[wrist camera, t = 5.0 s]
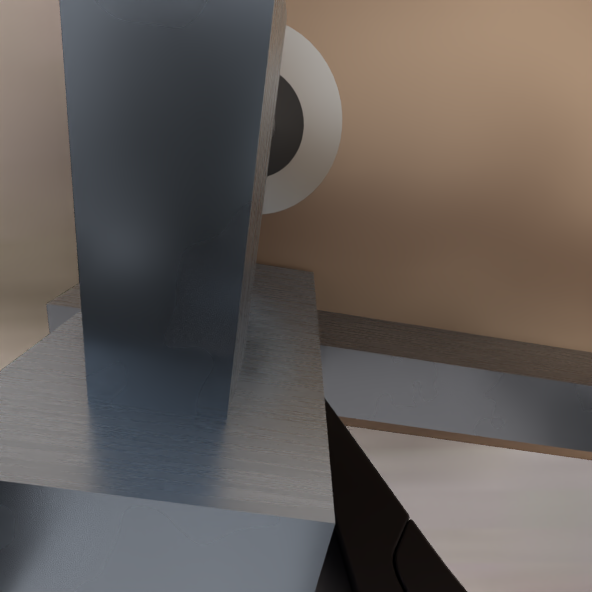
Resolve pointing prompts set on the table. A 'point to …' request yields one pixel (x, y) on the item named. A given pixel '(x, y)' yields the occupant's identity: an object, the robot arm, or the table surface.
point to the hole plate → (438, 169)
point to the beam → (442, 379)
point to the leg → (170, 328)
